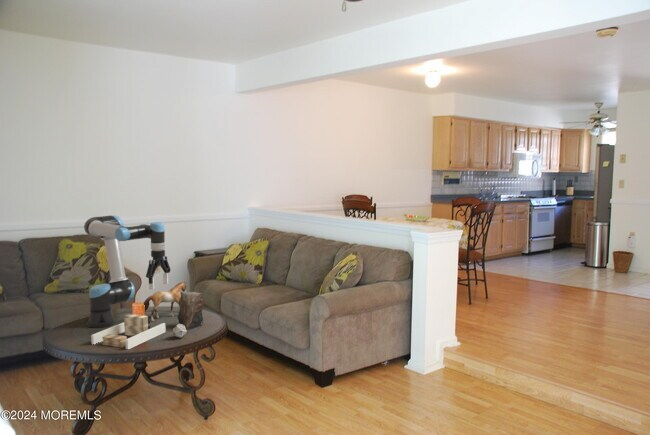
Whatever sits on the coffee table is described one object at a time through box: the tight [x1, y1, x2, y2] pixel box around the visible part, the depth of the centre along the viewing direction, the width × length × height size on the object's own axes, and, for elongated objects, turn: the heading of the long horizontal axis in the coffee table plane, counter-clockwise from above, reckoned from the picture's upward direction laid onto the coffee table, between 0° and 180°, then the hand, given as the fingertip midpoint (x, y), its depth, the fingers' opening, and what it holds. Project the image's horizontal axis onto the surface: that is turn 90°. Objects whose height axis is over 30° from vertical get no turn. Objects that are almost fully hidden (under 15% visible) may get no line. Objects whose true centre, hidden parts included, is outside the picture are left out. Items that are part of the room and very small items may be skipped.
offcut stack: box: [101, 334, 128, 348], centre depth 286 cm, size 13×6×4 cm, turn 69°
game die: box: [170, 321, 189, 340], centre depth 296 cm, size 9×8×10 cm
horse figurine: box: [143, 281, 187, 322], centre depth 334 cm, size 31×8×21 cm, turn 128°
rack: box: [90, 321, 167, 350], centre depth 297 cm, size 24×31×5 cm
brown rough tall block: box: [177, 291, 204, 331], centre depth 318 cm, size 13×13×20 cm
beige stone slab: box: [123, 313, 149, 337], centre depth 301 cm, size 13×4×11 cm, turn 70°
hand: (158, 286), depth 308 cm, fingers open, 13 cm apart
